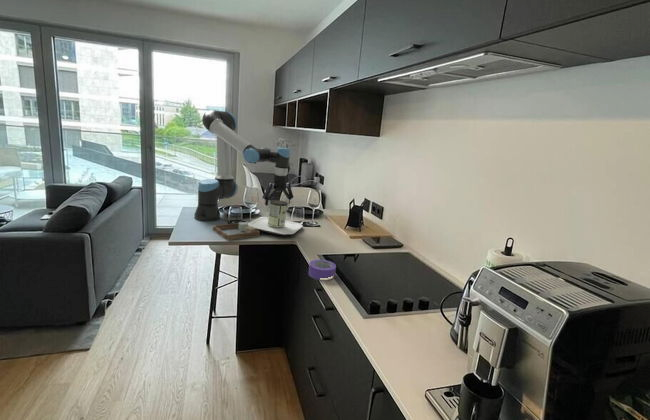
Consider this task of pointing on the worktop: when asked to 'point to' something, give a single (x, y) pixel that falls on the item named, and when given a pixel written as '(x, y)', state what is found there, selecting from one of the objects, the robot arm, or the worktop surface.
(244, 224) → the box
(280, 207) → the coffee can
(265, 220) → the plate
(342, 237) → the worktop surface
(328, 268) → the tape roll
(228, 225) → the brown wooden frame
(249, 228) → the box
